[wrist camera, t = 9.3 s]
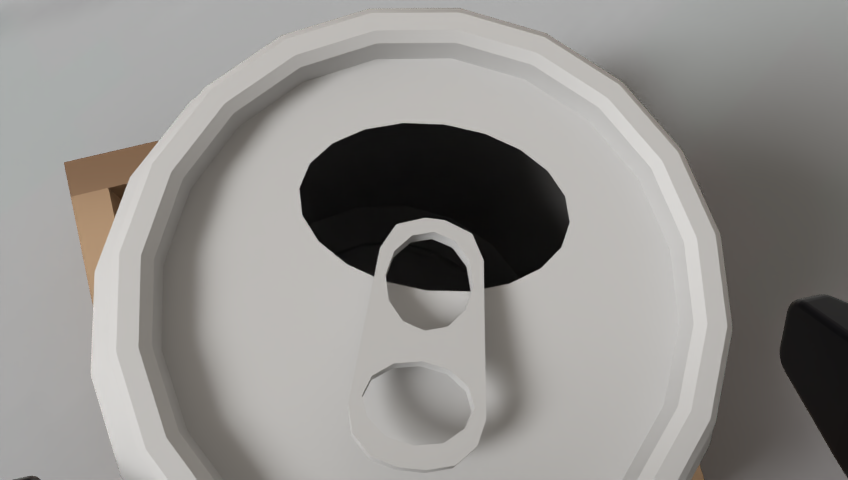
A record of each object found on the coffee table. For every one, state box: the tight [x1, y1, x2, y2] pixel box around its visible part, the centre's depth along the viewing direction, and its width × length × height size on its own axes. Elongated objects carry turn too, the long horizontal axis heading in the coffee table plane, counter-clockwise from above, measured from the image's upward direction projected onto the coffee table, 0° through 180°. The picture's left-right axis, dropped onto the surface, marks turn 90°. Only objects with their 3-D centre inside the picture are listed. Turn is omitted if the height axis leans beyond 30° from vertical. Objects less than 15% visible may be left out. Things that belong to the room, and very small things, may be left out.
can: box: [91, 8, 733, 480], centre depth 13 cm, size 8×8×12 cm
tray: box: [64, 141, 704, 480], centre depth 18 cm, size 12×12×3 cm
